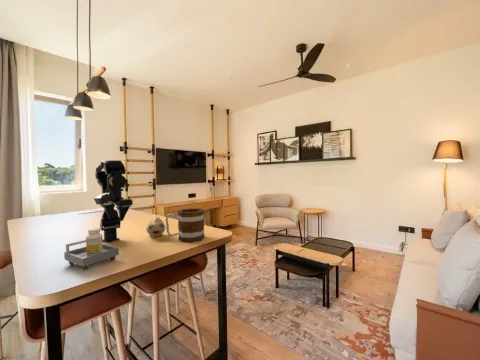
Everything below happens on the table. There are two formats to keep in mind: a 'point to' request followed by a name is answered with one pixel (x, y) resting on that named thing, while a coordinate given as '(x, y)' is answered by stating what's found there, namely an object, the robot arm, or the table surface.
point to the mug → (189, 225)
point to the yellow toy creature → (155, 227)
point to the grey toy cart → (84, 260)
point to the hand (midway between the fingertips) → (115, 220)
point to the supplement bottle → (94, 242)
